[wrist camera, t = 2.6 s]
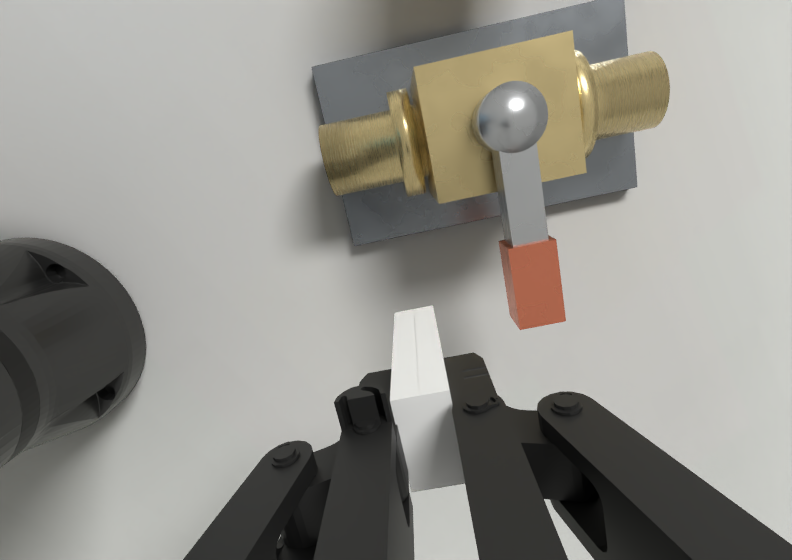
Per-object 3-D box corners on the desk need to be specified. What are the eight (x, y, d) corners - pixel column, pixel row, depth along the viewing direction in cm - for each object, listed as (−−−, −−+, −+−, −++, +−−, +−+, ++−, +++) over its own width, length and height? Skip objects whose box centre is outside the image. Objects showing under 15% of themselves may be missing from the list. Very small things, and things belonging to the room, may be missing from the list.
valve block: (355, 243, 33) (342, 269, 26) (314, 69, 30) (285, 40, 23) (630, 186, 32) (702, 195, 24) (616, -1, 29) (694, -57, 21)
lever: (466, 95, 23) (475, 88, 21) (529, 81, 23) (545, 72, 21) (501, 314, 26) (512, 331, 24) (556, 303, 26) (573, 319, 24)
